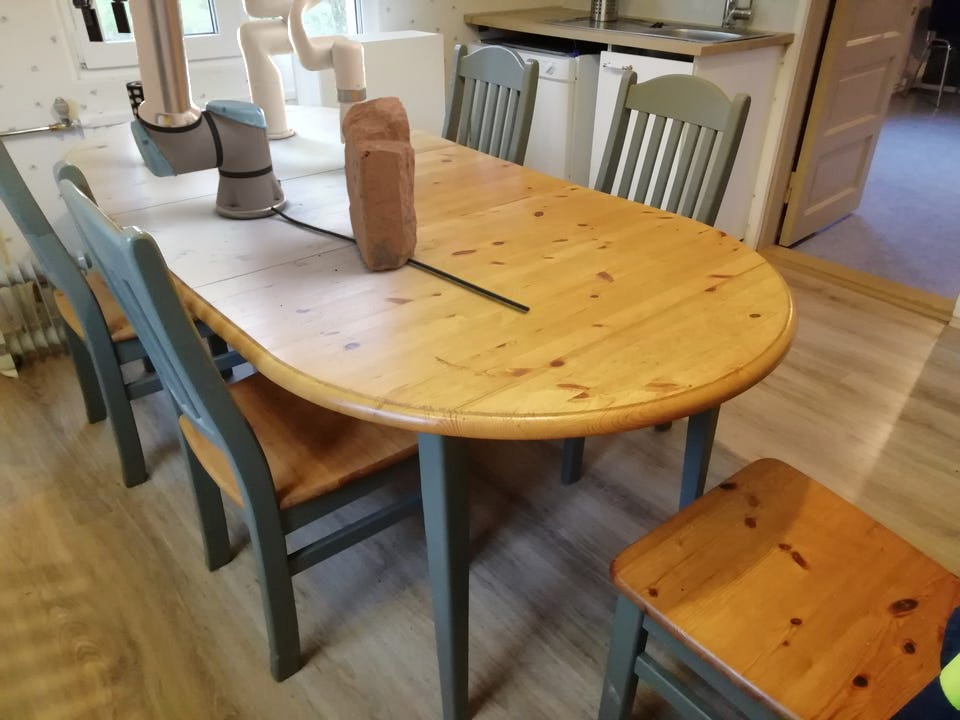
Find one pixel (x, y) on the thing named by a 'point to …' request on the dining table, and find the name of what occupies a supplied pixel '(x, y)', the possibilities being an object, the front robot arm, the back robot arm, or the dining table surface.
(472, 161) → the dining table surface
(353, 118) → the stone
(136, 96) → the polka dot cylinder
